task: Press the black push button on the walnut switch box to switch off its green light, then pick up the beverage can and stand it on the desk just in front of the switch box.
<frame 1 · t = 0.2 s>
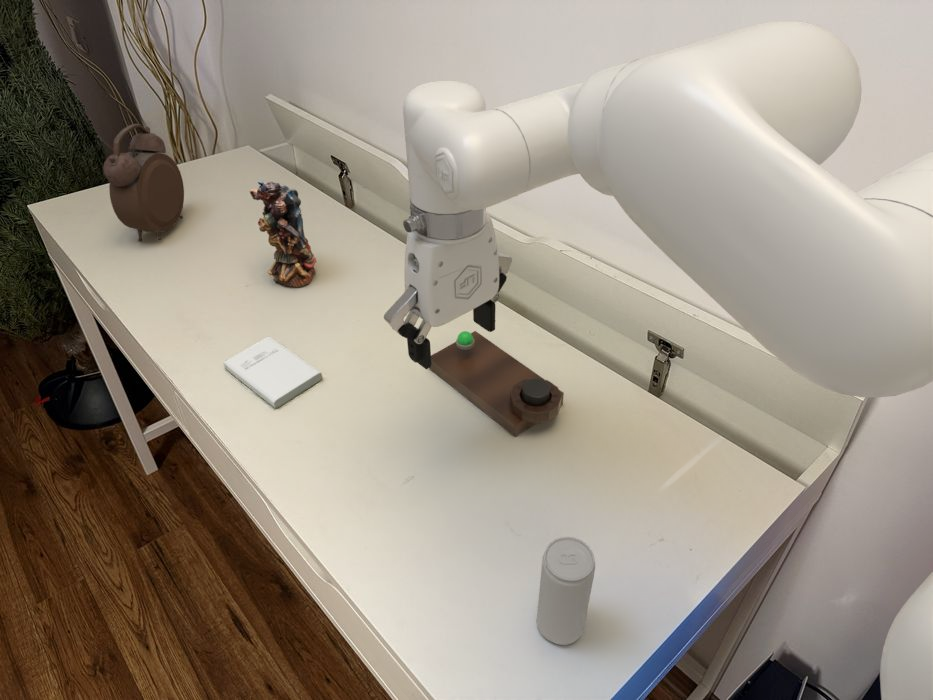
hand: (453, 343, 81), 16 cm above the table, tool pointing down, fingers open, 9 cm apart
beverage can: (559, 625, 71), on the table
switch box: (493, 385, 98), on the table
alarm clock: (160, 231, 132), on the table
button: (535, 392, 90), point 4 cm above the table, slide at 0.1 cm
green lamp: (465, 343, 99), resting on switch box
hard drive: (274, 375, 101), on the table
figurine: (289, 279, 119), on the table
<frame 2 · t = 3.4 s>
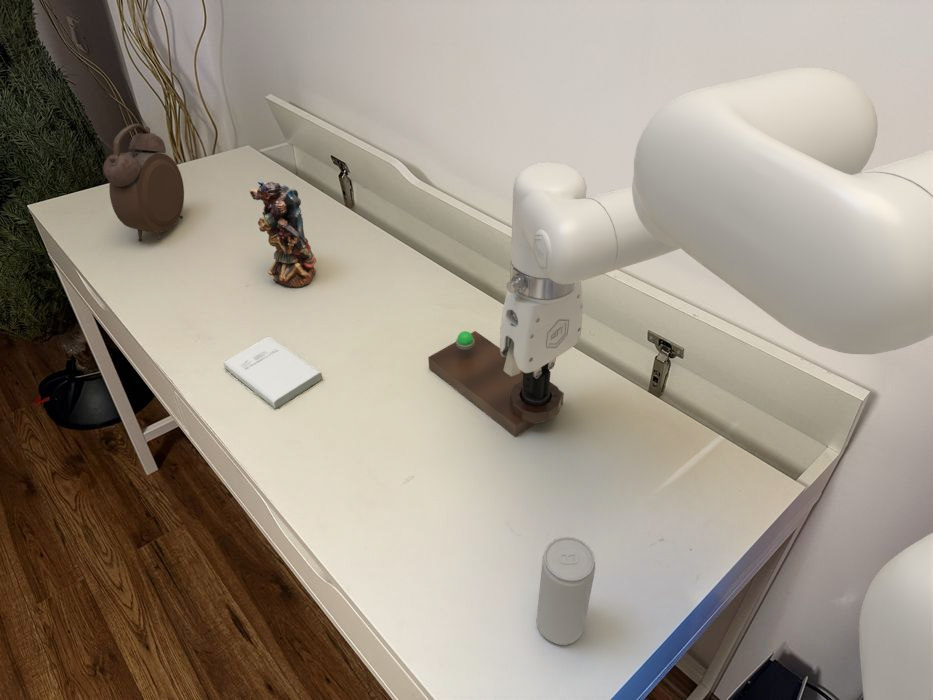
hand: (535, 390, 90), 5 cm above the table, tool pointing down, fingers closed
button: (535, 396, 91), point 4 cm above the table, slide at -0.6 cm, touching gripper
everything else where it was.
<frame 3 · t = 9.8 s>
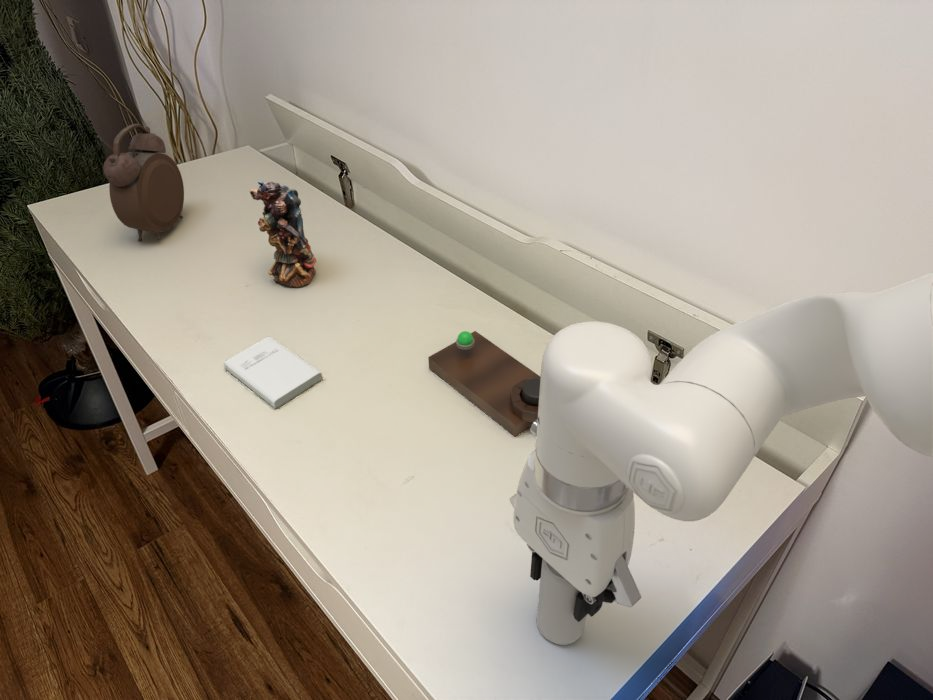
hand: (564, 588, 66), 7 cm above the table, tool pointing down, fingers closed on beverage can, 4 cm apart
beverage can: (559, 625, 71), on the table, touching gripper
button: (535, 392, 90), point 4 cm above the table, slide at 0.1 cm
everything else where it was.
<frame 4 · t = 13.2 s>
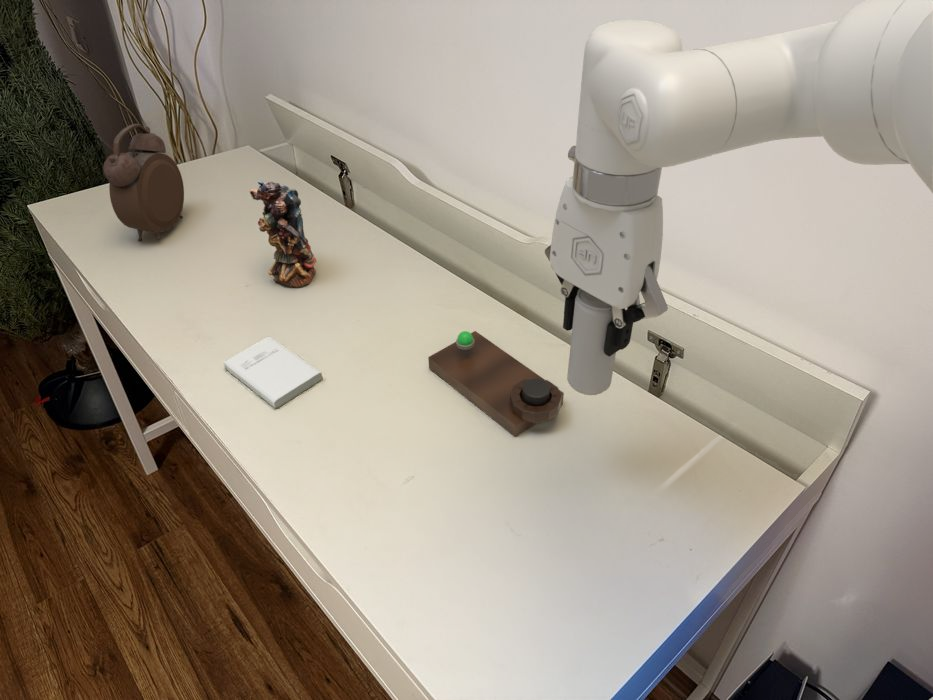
hand: (595, 335, 73), 21 cm above the table, tool pointing down, fingers closed on beverage can, 4 cm apart
beverage can: (588, 384, 77), point 14 cm above the table, touching gripper
everything else where it was.
when the fingers open (7 cm above the table, at t = 16.9 s): beverage can stays where it is, on the table.
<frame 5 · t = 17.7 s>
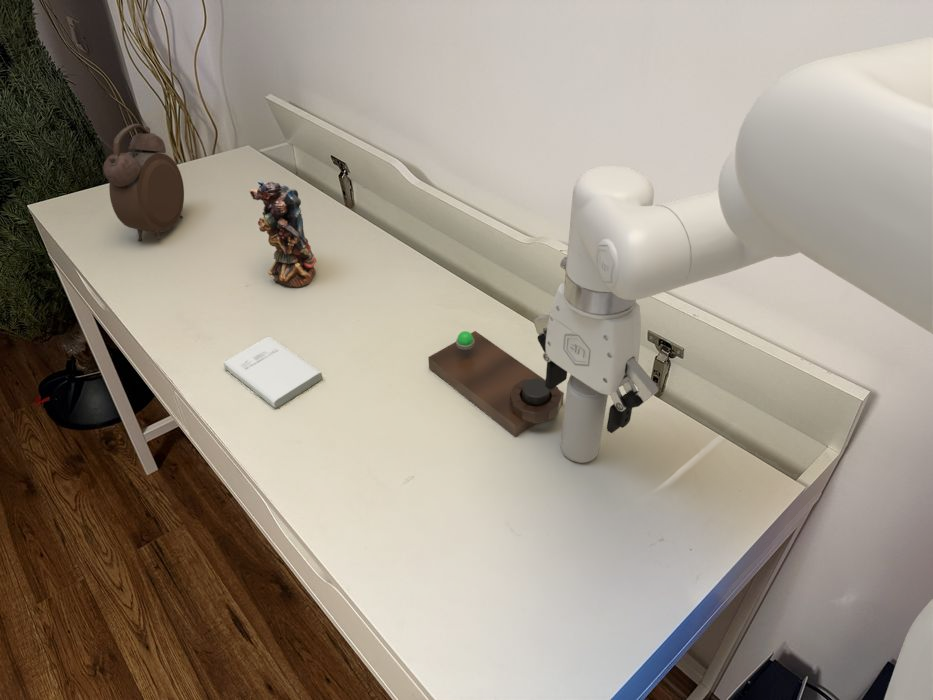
hand: (585, 404, 83), 8 cm above the table, tool pointing down, fingers open, 9 cm apart
beverage can: (579, 451, 89), on the table
everything else where it was.
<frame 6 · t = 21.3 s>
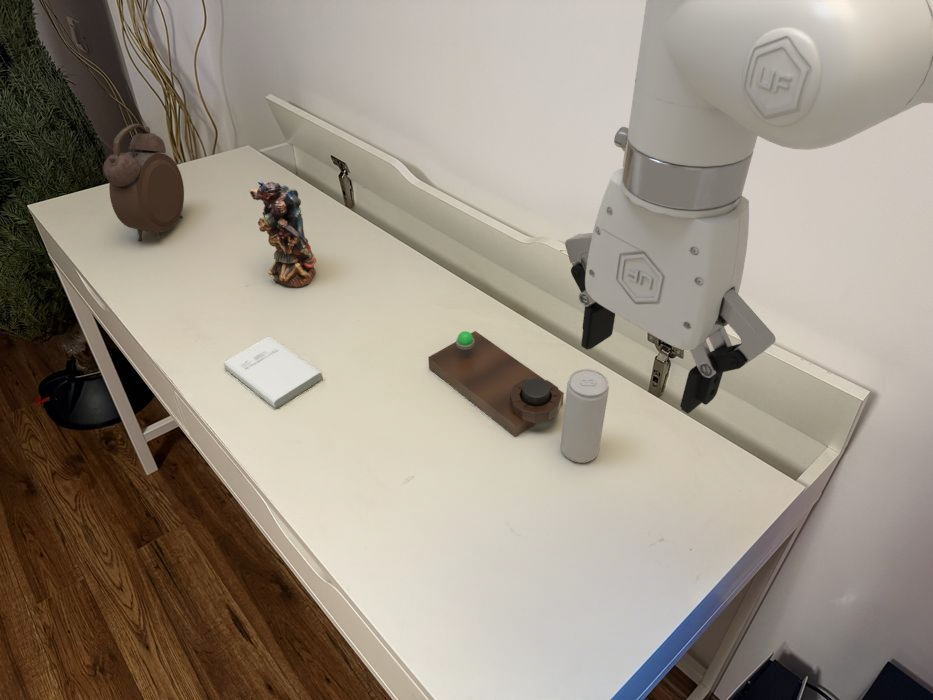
hand: (643, 370, 55), 30 cm above the table, tool pointing down, fingers open, 9 cm apart
nothing on the table moved.
at the end: button pushed in 1.1 cm at the most during the clip, back to where it started at the end; button slide at 0.1 cm; beverage can 0.1 cm from the target spot on the table beside the switch box, on the table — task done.
